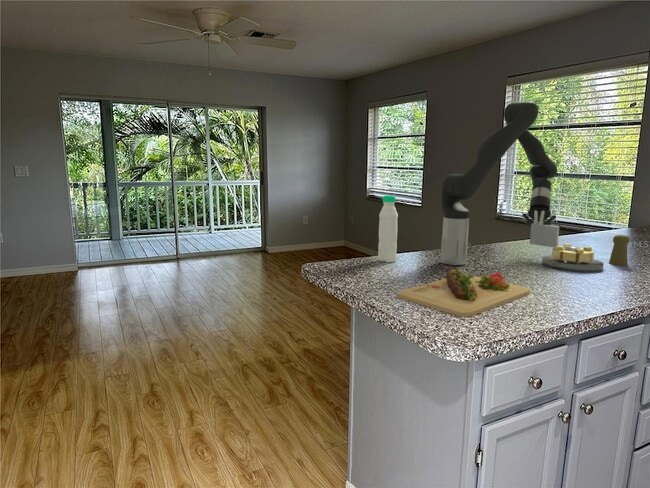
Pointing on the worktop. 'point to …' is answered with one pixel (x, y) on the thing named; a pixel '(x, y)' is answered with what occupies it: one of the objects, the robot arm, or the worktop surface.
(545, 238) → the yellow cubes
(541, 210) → the robot arm
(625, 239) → the cork
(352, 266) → the worktop surface
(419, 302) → the cutting board
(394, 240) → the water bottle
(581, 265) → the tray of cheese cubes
